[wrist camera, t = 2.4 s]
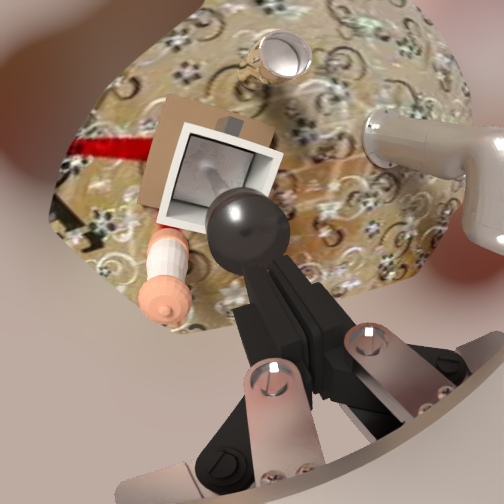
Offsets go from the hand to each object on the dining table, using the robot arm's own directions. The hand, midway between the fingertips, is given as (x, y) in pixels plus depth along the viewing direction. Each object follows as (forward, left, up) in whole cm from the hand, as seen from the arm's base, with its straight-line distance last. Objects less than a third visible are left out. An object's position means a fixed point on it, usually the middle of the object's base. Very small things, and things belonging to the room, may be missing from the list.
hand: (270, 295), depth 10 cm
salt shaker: (+2, +16, -38) cm, 42 cm away
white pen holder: (0, 0, -38) cm, 38 cm away
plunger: (0, 0, -25) cm, 25 cm away
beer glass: (-3, -17, -38) cm, 42 cm away
